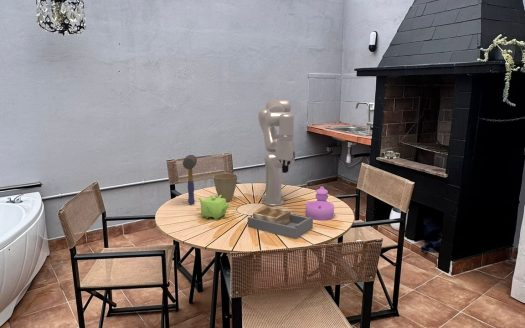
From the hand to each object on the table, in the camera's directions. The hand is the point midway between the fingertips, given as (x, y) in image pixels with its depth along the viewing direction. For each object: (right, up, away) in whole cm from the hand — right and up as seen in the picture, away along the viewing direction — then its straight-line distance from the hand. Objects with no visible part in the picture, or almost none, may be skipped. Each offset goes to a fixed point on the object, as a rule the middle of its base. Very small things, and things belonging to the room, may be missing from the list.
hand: (285, 172), depth 199 cm
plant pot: (-35, -19, +38) cm, 55 cm away
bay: (-3, -28, -8) cm, 29 cm away
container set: (+21, -24, +15) cm, 35 cm away
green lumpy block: (-39, -25, +9) cm, 47 cm away
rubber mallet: (-55, -20, +30) cm, 66 cm away
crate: (-7, -26, -5) cm, 27 cm away
